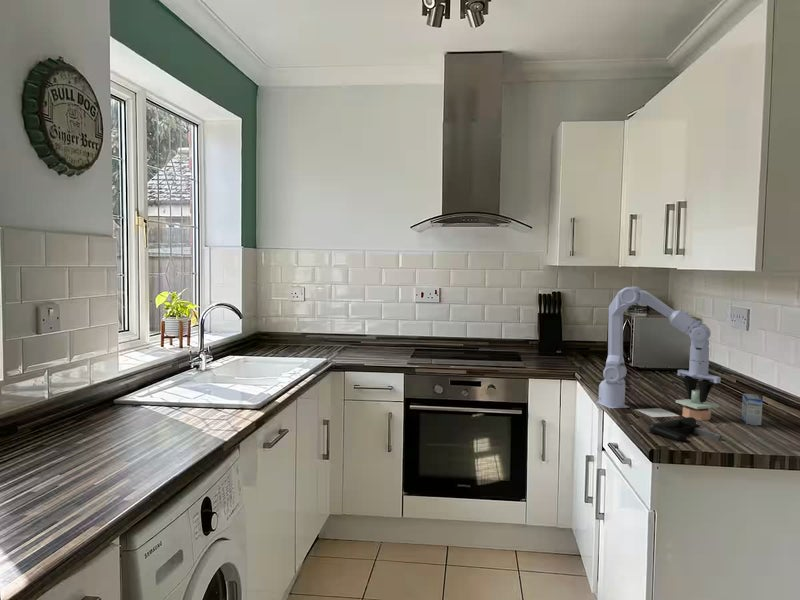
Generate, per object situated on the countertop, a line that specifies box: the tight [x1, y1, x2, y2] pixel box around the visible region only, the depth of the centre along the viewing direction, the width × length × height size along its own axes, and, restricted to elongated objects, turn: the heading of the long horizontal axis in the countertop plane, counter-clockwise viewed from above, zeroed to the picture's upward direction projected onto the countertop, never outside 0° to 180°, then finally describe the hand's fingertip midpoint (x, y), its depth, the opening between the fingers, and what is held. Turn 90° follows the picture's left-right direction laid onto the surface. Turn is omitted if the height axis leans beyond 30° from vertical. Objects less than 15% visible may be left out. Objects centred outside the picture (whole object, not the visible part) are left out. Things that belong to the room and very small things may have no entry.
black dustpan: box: [648, 417, 723, 443], centre depth 174 cm, size 3×20×16 cm
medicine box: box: [741, 393, 763, 426], centre depth 189 cm, size 8×4×9 cm, turn 159°
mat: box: [634, 407, 680, 418], centre depth 198 cm, size 10×10×1 cm
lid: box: [675, 389, 720, 409], centre depth 192 cm, size 9×9×5 cm
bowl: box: [681, 405, 712, 421], centre depth 193 cm, size 8×8×4 cm
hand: (697, 400), depth 192 cm, fingers closed on lid, 4 cm apart
